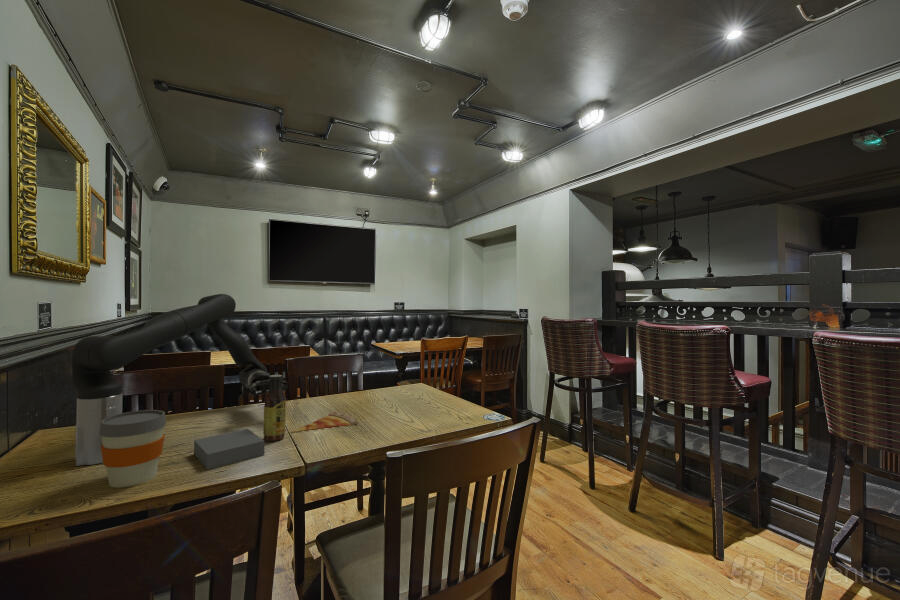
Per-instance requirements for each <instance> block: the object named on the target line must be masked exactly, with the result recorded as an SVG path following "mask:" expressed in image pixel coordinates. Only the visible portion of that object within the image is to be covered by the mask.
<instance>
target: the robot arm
mask: <svg viewBox="0 0 900 600" xmlns="http://www.w3.org/2000/svg"><path fill="white" fill-rule="evenodd" d="M236 307H237V305H236V300H235V299H234V298H233V296H231V295H229V294H226V293H218V294H216V293H215V294H212V295H211V294H210V295H207V296H203V297H202V298H200V299H199V300H198V302H197V304H195V305H190V306H185V307H180V308H175V309H173V310H170V311H169V310H168V311H166V312H163V313H161V314H157V315H156V316H154V317H152V318H150V319H149V320H147V322H145V324H144V325H143V326H142V327H141V328H139V329H137V330H133V331H132V332H128V333H124V334H121V335H116V336H101V335H97V336H96V335H94V336H93V335H92V336H86V337H83V338H81V339H80V340H78V342H77V343H76V344H75V345H74V347H73V348H72V349H73V350H72V353H71V375H72V376H71V380H72V386H73V389H74V390H75V392H76V424H75V457H74V458H75V466H76V467H80V466H91V465H97V464H102V463H103V458H102V452H101V445H102V444H103V442H102V436H101V435H99V433H100V426H101V421H102V420H103V419H105V418H107V417H110V416H113V415H117V414H121V413H123V383H122V382H121V381H119V380H117V378H115V377H114V376H113V375H112V373H111V372H112V371H114V370H118V369H121V368H123V367H124V366H126V365H128V364H129V363H132V362H133V361H135V360H136V359H138V358H140V357H142V356H143V355H145V354H147V353H149V352H150V351H151V352H152V351H153V350H156V349H158V348H161V347H163V346H165V345H167V344H169V343H172V342H174V341H176V340H179V339H181V338H184V337H185V336H186V335H189V334H191V333H192V332H195V331H197V330H199V329H201V328H202V327H204V326H207V325H208V326H209V328H210V329H211V330H212V331H213V333H214V334H215V335H216V336H217V338H218V339H219V340H220V341H221V342H222V343H223V345H224V347H225V349H226V350H227V351H228V353H229V354H230V357H231V359H232V360H233V361H234V363H235V365H236V366H238V367H243V366H247V365H250V366H248V367H246V368H244V369H242V370H241V371H240V372H239V373H238V375H237V376H238V377H237V378H238V382H239V383H241V392H242V395H244V396H245V395H248V394H249V395H250V396H253V397H255V396H257V395H265V394H267V393H268V392H269V376H270V375H269V374H268V369H267V367H266V366H265V365H264V364H263V363H262V362H261V361H259V359H258V358H256V356H255V355H254V353H253V352H252V350H251V347H250V346H249V345H248V343H247V341H246V340H245V339H244V338H243V336H241V335H240V334H239V333H237V332H236V331H235V330H233V329H232V328H231V327H230V326H229V325H228V324H227V323H226V322H225V320H224V319H226V318H228V317H231V316H232V314H233V313H234V312H235V310H236ZM282 390H283V392H284V391H285V390H288V381H286V380H285V379H283V380H282Z"/></svg>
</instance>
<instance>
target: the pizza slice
mask: <svg viewBox="0 0 900 600" xmlns="http://www.w3.org/2000/svg"><path fill="white" fill-rule="evenodd" d="M355 424H358V425H359V422H358V421H357V420H356V419H355V418H354V417H352V416H351V415H348V414H346V413H343V412H339V411H338V412H337V411H329V413H328V415H327V416H324V417H322V418H319V419H316V420H315V421H312V422H310V423H307V424H306V425H303V426H302V427H299V428H296V429H295V430H292V431H290V434H296V433H303V432H302V431H305V432H310V431H309V430H313V431H318V429H321V430H325V429H324V428H329V429H333V428H332V427H337V428H340V427H339V426H345V427H349V426H348V425H353V426H356V425H355ZM295 432H296V433H295Z"/></svg>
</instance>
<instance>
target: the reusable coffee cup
mask: <svg viewBox="0 0 900 600" xmlns="http://www.w3.org/2000/svg"><path fill="white" fill-rule="evenodd" d="M166 425H167V420H166V411H163V410H159V409H143V410H133V411H127V412H122V413H121V414H117V415H113V416H110V417H107V418H105V419H103V420H102V421H101V426H100V433H99V435H101V436H102V442H103V444H102V445H101V452H102V458H103V466H105V468H106V472H107V479H108V486H109V487H112V488H128V487H132V486H133V487H134V486H137V485H140V484H143V483H146V482H148V481H150V480H152V479H154V478H155V477H156V476H157V473H158V468H159V466H158V465H159V460H160V456H161V455H162V453H163V448H164V442H165V435H166V434H164V430H165V426H166Z"/></svg>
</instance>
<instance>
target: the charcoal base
mask: <svg viewBox="0 0 900 600" xmlns="http://www.w3.org/2000/svg"><path fill="white" fill-rule="evenodd" d="M193 455H194V456H195V457H196V459H197V460H198V461H199V462H200V463H201V465H203V467H204V466H205V467H204V468H205V469H206V470H207V471H208V470H209V471H210V470H213V469H216V468H220V467H224V466H228V465H231V464H235V463H239V462H242V461H246V460H250V459H254V458H258V457H262V456H265V440H264V438H261V436H259V435H257V434H256V433H255V432H253V431H252V430H250V429H249V428H245V429H240V430H235V431H231V432H230V431H229V432H225V433H221V434H217V435H212V436H206V437H202V438H198V439H194V441H193Z"/></svg>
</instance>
